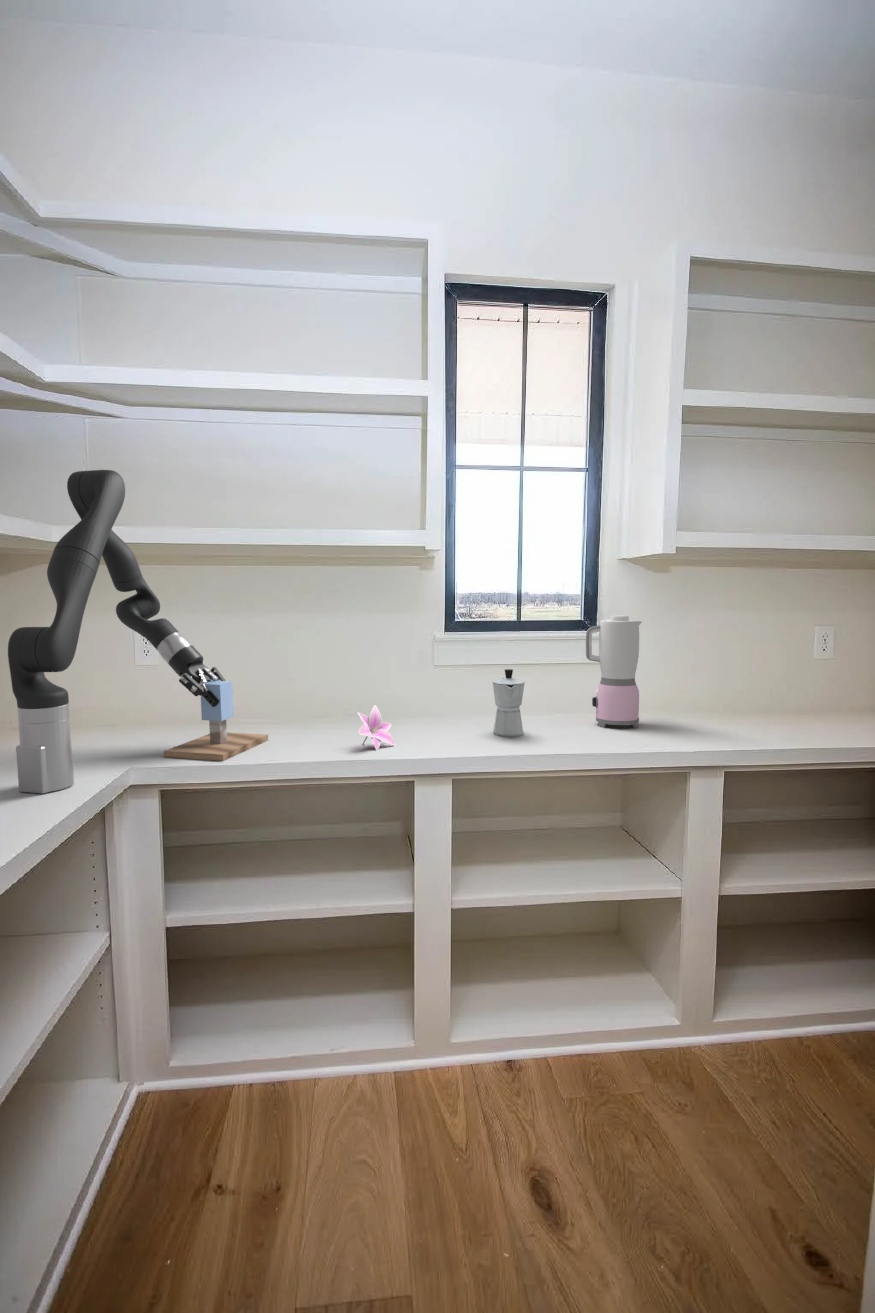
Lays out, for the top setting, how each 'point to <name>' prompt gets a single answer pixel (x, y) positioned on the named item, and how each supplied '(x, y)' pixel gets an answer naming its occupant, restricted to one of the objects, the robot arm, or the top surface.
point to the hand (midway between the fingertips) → (223, 702)
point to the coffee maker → (508, 706)
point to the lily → (375, 728)
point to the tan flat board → (216, 744)
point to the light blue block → (225, 698)
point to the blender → (616, 671)
